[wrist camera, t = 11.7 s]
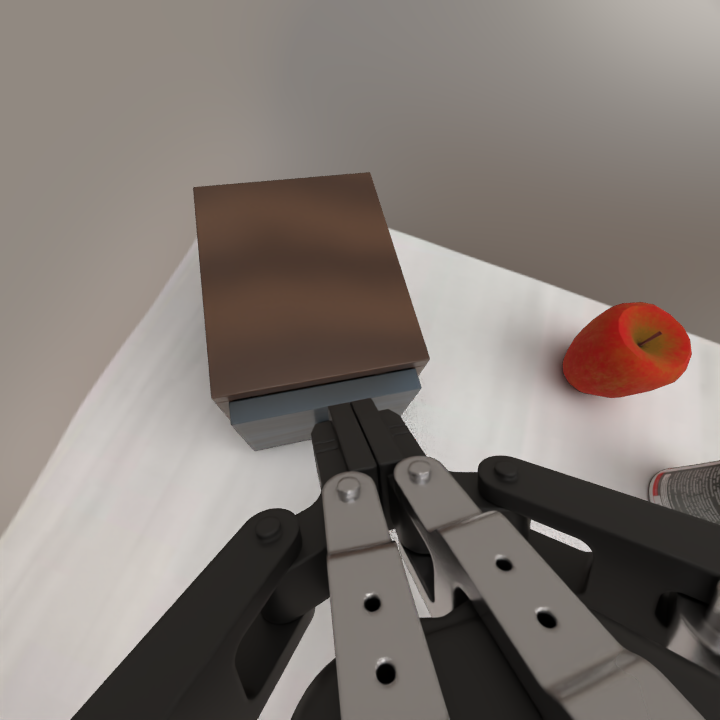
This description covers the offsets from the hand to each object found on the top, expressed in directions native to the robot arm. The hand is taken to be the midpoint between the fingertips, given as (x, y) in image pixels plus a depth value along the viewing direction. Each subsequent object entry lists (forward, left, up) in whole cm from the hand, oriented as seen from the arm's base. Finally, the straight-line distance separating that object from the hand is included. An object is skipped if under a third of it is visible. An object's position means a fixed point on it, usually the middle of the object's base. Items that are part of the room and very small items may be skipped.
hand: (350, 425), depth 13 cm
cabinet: (-4, +10, -14) cm, 18 cm away
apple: (+19, +10, -14) cm, 26 cm away
